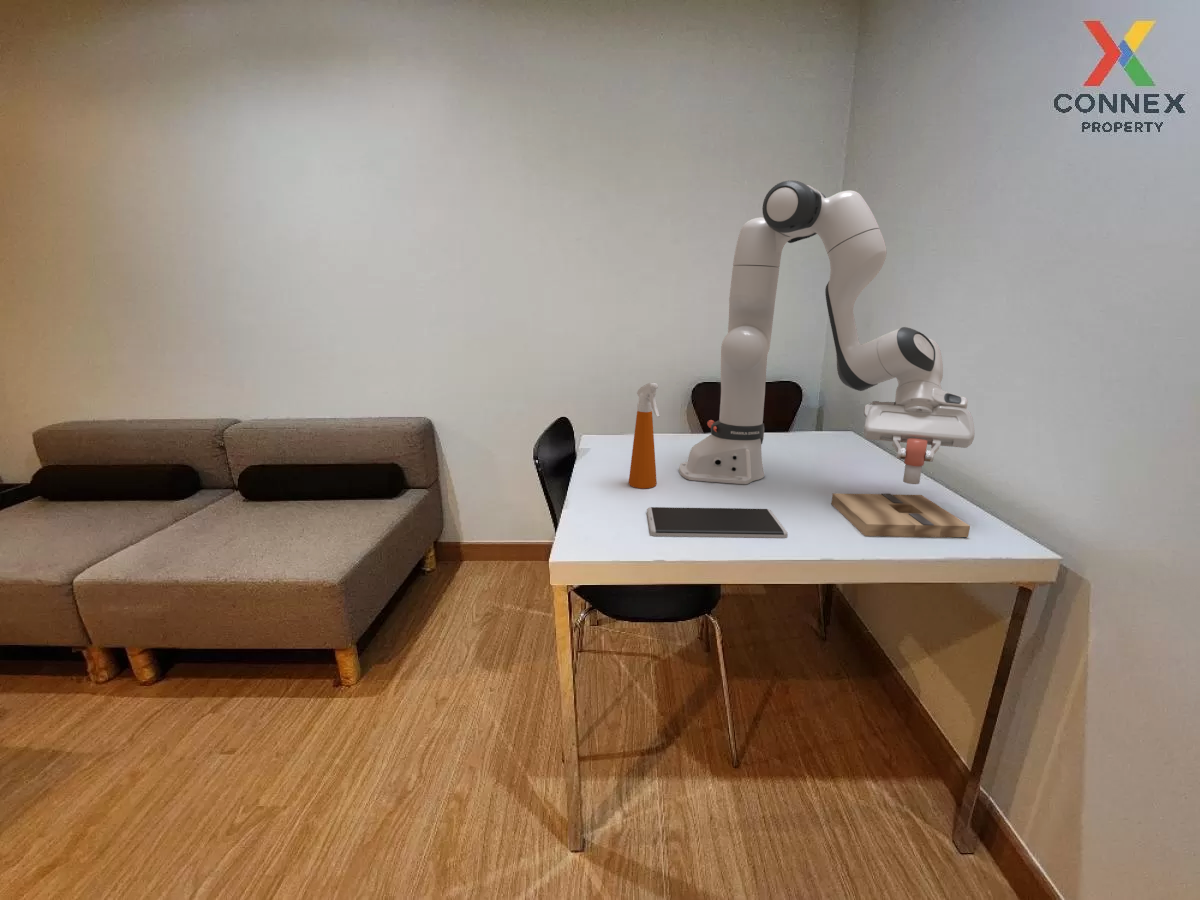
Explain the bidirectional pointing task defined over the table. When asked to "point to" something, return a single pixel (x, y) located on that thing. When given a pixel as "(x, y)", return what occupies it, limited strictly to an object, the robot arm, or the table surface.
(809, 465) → the table surface
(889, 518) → the board
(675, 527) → the smartphone
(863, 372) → the robot arm
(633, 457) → the spray bottle
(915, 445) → the red white cylinder
